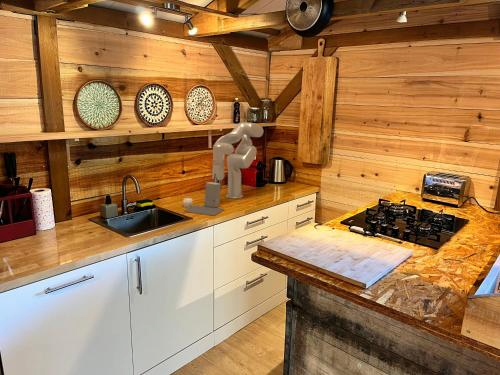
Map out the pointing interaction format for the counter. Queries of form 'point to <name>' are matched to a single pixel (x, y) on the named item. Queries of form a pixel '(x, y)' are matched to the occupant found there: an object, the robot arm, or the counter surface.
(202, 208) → the mat
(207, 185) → the skincare box
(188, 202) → the white round piece
